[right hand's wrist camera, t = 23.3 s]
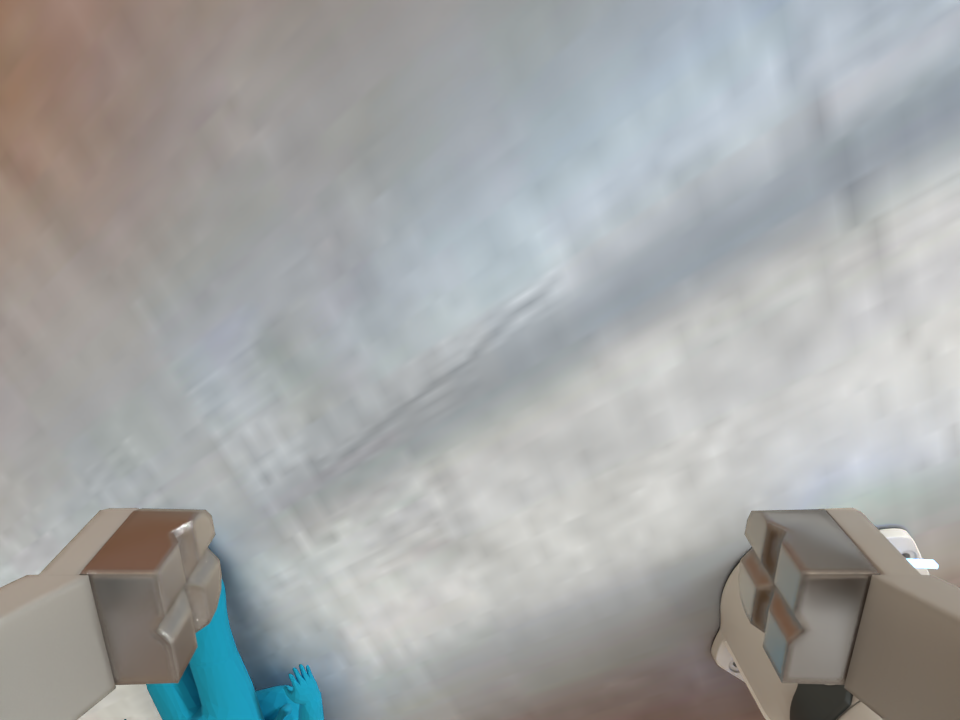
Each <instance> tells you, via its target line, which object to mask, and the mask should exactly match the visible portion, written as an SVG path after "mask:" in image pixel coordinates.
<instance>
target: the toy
mask: <svg viewBox="0 0 960 720" xmlns="http://www.w3.org/2000/svg"><path fill="white" fill-rule="evenodd" d="M195 635H196V640H197V646H198V647H197V649H196V650H195V652H194V654H193V656H192V658H191V660H190V662H189V664H188V666H187V667H186V669H185V671H184V673H183V675H182V677H181V679H180V681H179V683H163V684H146V685H147V689H148V691H149V693H150V695H151V697H152V699H153V702H154V704H155V706H156V708H157V710H158V712H159V714H160V716H161V718H162V719H163V720H324V715H323V706H322V698H321V692H320V691H319V688H318V686H317V683H316V681H315V679H314V677H313V675H312V673H311V670H310V668H309V666H308V665H307V666H306V670H307V673H306V671H305V669H304V666H303V665H302V664H300V665H299V668H300V671H301V675H302V676H301V675H300V673H299V672H298V670H297V669H296V668H293V671H294V674H295V676H296V679H297V680H296V679H295V677H294V676H293V675H292V674H289V678H290V680H291V682H292V685H293V687H292V686H289V685H281V686H274V687H270V688H266V689H262V690H258V691H255V689H254V686H253V683H252V681H251V678H250V676H249V674H248V672H247V670H246V667H245V665H244V663H243V661H242V659H241V656H240V654H239V652H238V650H237V648H236V645H235V641H234V638H233V635H232V632H231V629H230V625H229V619H228V614H227V607H226V593H225V586H224V582H223V580H221V593H220V597H219V602H218V606H217V610H216V612H215V614H214V616H213V618H212V620H211V622H210V624H208V625H207V626H205V627H204V628H202V629H201V630H199V631H198V632H197V633H195ZM124 720H126V719H124Z"/></svg>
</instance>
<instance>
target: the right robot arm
mask: <svg viewBox="0 0 960 720" xmlns="http://www.w3.org/2000/svg"><path fill="white" fill-rule="evenodd" d="M214 536H215V530H214V525H213V520H212V516H211V515H210V514H209V513H208V512H207V511H206V510H194V509H145V508H142V509H138V508H109V509H104V510H100V511H99V512H98V513H97V514H96V515H95V516H94V517H93V518H92V519H91V520H90V521H89V522H88V524H87V525H86V526H85V527H84V528H83V529H82V530H81V531H80V532H79V533H78V534H77V535H76V536H75V537H74V538H73V539H72V540H71V541H70V542H69V543H68V545H67V546H66V547H65V548H64V549H63V550H62V551H61V552H60V553H59V554H58V555H57V556H56V557H55V558H54V559H53V560H52V561H51V562H50V563H49V564H48V566H47V567H46V568H45V569H44V570H43V571H42V572H41V573H40V574H39V575H26V576H24V577H22V578H20V579H18V580H16V581H14V582H11V583H9V584H7V585H5V586H3V587H1V588H0V720H77V719H78V718H80V717H81V716H82V715H83V714H85V713H86V712H87V711H88V710H89V709H91V708H92V707H93V706H94V705H96V704H97V703H98V702H99V701H101V700H102V699H103V698H104V697H105V696H107V695H108V694H109V693H110V692H112V691H113V690H114V689H115V688H116V686H115V685H129V684H163V683H179V681H180V679H181V677H182V675H183V673H184V671H185V669H186V667H187V666H188V664H189V662H190V660H191V658H192V656H193V654H194V652H195V650H196V649H197V647H198V646H197V640H196V635H195V633H197V632H198V631H199V630H201V629H202V628H204V627H205V626H207V625H208V624H210V622H211V620H212V618H213V616H214V614H215V612H216V610H217V606H218V602H219V597H220V593H221V580H222V573H221V566H220V559H219V558H218V557H217V556H216V555H215V554H214V553H213V552H212V551H211V550H210V549H209V548H208V546H209V544H210V543H211V541H212V539H213V538H214ZM745 536H746V538H747V539H748V541H749V543H750V544H751V546H752V548H751V549H750V550H749V551H748V552H747V553H746V554H745V555H744V556H743V557H742V558H741V559H740V562H739V564H738V565H737V566H736V567H735V569H734V570H733V571H732V573H731V575H730V576H729V578H728V580H727V582H726V584H725V587H724V590H723V593H722V597H721V604H720V613H721V625H720V630H719V632H718V633H717V636H716V638H715V640H714V642H713V645H712V648H711V655H712V657H713V658H714V660H715V662H716V663H717V665H718V666H720V667H721V668H722V669H724V670H726V671H727V672H729V673H730V674H732V675H734V676H735V677H737V678H738V679H740V680H742V681H743V682H745V683H746V685H747V687H748V689H749V690H750V692H751V694H752V696H753V698H754V700H755V702H756V703H757V705H758V707H759V709H760V711H761V713H762V714H763V716H764V718H765V719H766V720H960V588H959V587H957V586H955V585H953V584H951V583H949V582H946V581H944V580H942V579H940V578H938V577H936V576H934V575H930V574H929V572H928V570H927V568H933V569H937V568H938V566H939V565H938V564H937V563H936V562H935V561H934V560H927V559H922V557H921V555H920V552H919V550H918V548H917V546H916V544H915V542H914V540H913V539H912V538H911V536H910V535H909V534H908V533H907V532H906V531H905V530H903V529H898V528H891V529H881V530H878V529H877V528H876V527H875V526H874V524H873V523H872V522H871V521H870V520H869V519H868V518H867V517H866V516H865V515H864V514H863V513H862V512H861V511H859V510H856V509H854V508H831V509H811V510H766V511H751V513H750V515H749V517H748V519H747V523H746V529H745ZM903 553H904V554H903ZM902 554H903V555H902Z"/></svg>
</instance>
